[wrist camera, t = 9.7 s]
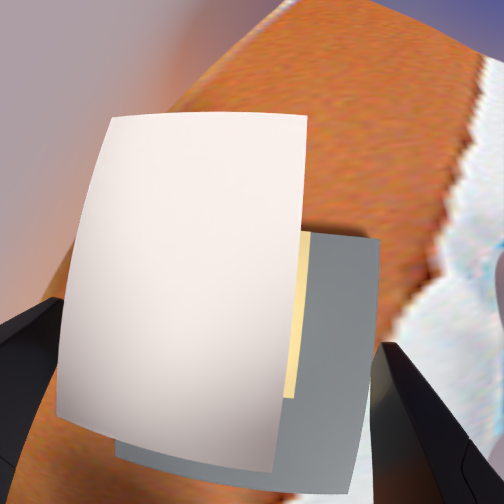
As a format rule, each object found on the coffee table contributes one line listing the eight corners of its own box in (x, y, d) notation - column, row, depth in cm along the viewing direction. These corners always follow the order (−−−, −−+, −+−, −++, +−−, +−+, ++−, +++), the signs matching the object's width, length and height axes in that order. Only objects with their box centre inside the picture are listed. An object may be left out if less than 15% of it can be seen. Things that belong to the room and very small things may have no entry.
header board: (344, 485, 15) (356, 516, 11) (123, 450, 17) (93, 470, 13) (374, 244, 18) (395, 224, 15) (148, 225, 20) (121, 203, 16)
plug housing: (279, 375, 16) (271, 473, 4) (200, 364, 16) (56, 415, 5) (292, 255, 17) (306, 115, 6) (215, 248, 18) (112, 117, 6)
